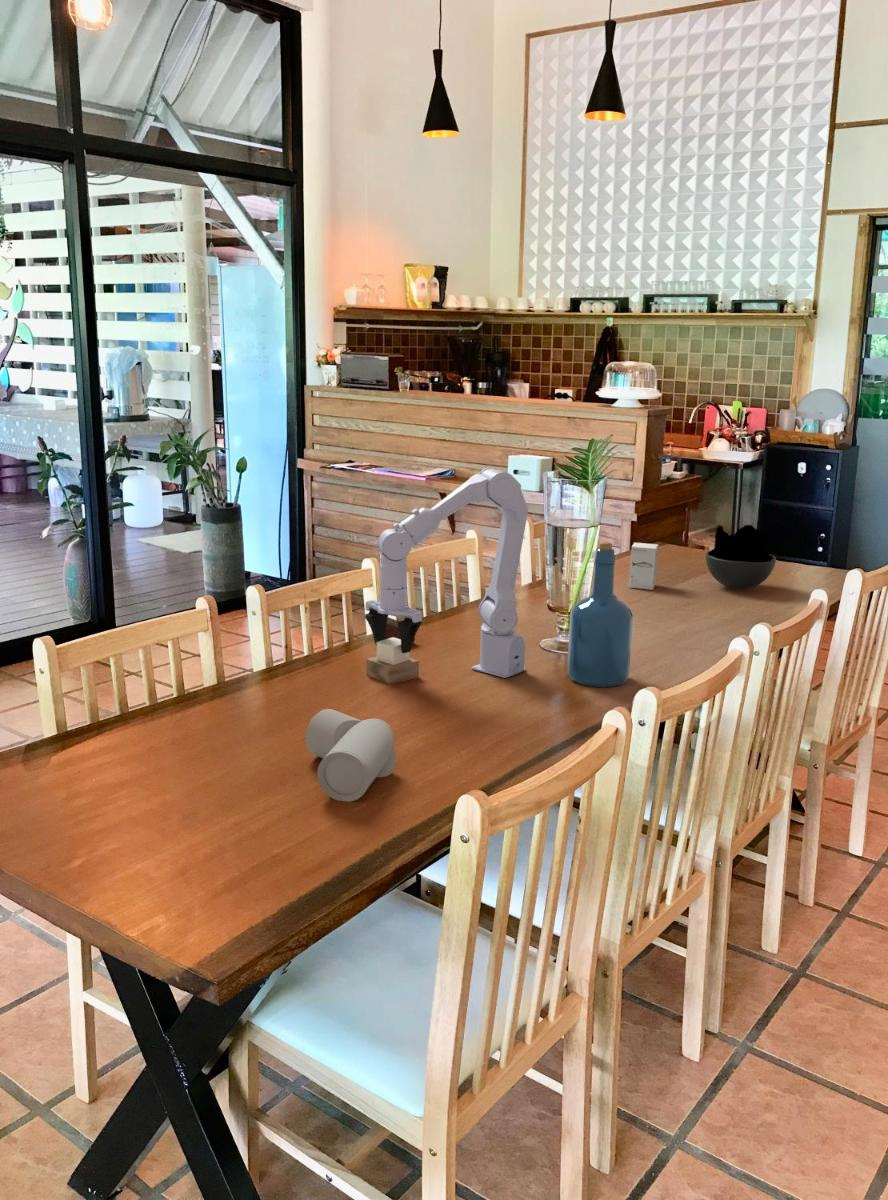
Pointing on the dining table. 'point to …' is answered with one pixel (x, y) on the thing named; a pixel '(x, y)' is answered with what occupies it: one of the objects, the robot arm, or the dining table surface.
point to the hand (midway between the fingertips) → (393, 648)
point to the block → (391, 651)
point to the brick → (392, 629)
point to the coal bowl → (740, 558)
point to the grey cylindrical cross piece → (350, 752)
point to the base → (392, 670)
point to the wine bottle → (600, 630)
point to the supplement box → (643, 566)
